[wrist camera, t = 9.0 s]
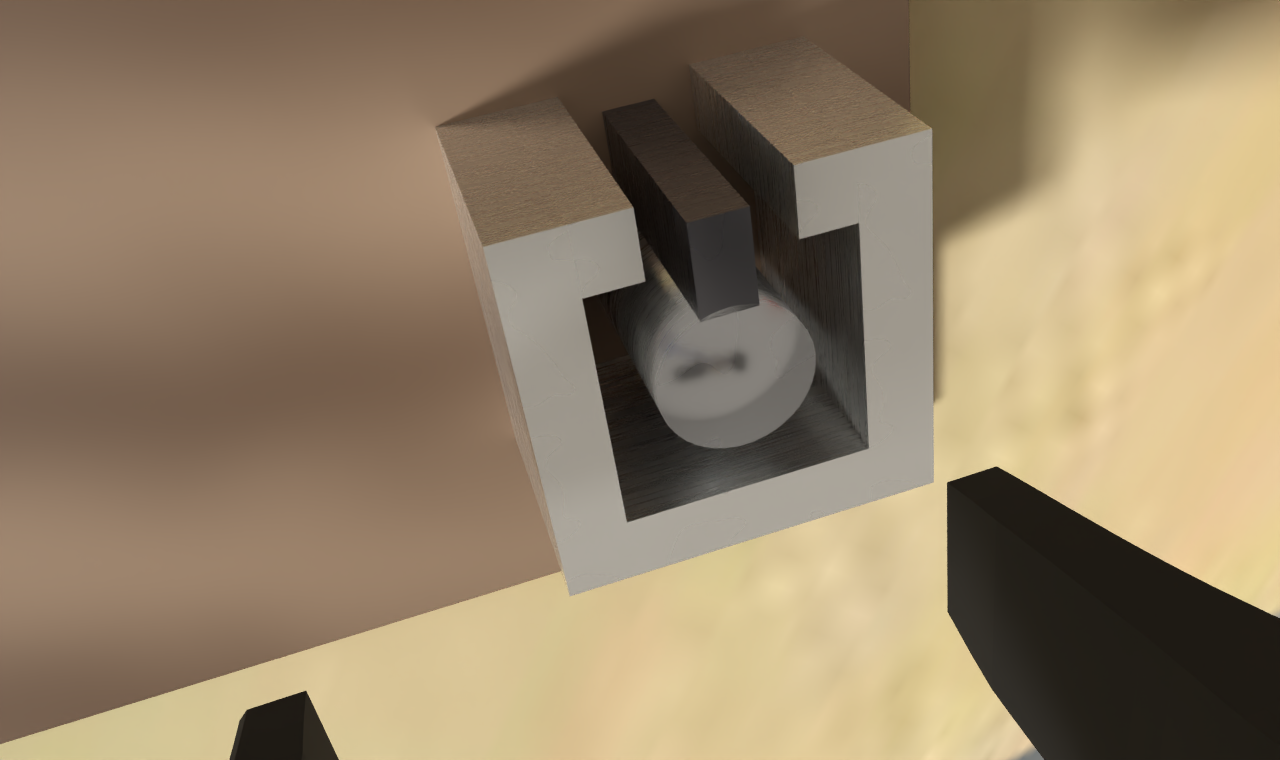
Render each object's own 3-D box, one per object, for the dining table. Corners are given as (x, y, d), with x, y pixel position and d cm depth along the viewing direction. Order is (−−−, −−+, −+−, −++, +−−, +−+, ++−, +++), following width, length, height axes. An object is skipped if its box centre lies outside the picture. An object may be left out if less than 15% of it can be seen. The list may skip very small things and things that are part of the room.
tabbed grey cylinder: (555, 123, 17) (630, 238, 14) (698, 87, 18) (804, 191, 14) (594, 325, 19) (668, 467, 16) (723, 290, 19) (819, 421, 16)
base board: (-795, 114, 14) (-873, 151, 13) (867, -234, 17) (904, -226, 16) (-223, 763, 21) (-246, 819, 20) (887, 427, 24) (915, 461, 23)
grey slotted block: (515, 438, 20) (570, 595, 17) (435, 127, 17) (483, 247, 13) (824, 348, 21) (933, 482, 17) (803, 36, 18) (932, 129, 14)
